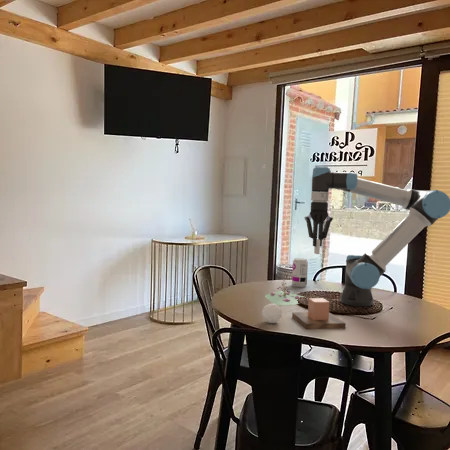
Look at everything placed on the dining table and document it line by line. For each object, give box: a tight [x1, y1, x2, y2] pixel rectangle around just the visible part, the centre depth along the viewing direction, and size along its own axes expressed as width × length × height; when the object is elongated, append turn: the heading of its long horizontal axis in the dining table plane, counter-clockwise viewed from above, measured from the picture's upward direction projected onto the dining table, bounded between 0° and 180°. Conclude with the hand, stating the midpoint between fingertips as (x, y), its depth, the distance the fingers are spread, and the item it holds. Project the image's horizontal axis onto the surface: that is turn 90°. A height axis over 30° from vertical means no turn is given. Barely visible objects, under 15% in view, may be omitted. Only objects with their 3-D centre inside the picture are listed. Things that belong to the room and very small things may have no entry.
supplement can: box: [291, 257, 309, 288], centre depth 247 cm, size 8×8×15 cm
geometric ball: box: [261, 303, 283, 324], centre depth 175 cm, size 8×8×8 cm
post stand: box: [291, 311, 347, 330], centre depth 178 cm, size 16×16×8 cm
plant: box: [264, 279, 305, 306], centre depth 215 cm, size 25×21×9 cm
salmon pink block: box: [307, 297, 330, 320], centre depth 178 cm, size 6×6×7 cm
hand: (316, 253), depth 201 cm, fingers closed
